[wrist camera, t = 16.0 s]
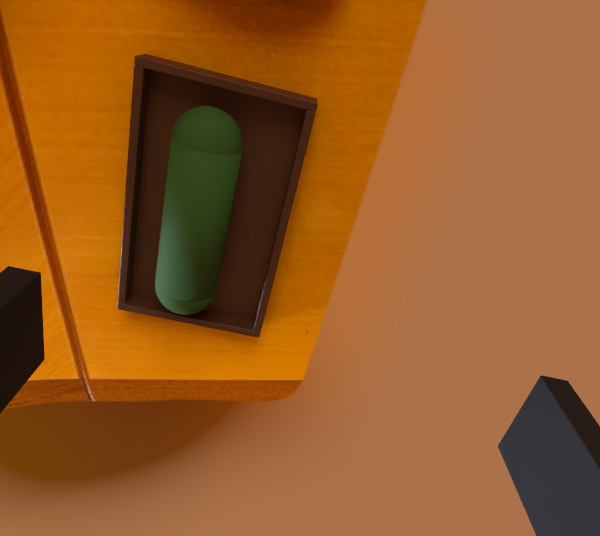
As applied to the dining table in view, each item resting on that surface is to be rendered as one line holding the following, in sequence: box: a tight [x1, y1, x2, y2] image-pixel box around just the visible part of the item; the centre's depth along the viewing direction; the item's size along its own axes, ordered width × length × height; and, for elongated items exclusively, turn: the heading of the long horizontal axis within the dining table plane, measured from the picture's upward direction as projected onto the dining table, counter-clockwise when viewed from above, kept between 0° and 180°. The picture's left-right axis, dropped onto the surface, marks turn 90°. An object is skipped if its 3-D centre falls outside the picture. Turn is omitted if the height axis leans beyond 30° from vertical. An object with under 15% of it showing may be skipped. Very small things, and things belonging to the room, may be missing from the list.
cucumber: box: [155, 106, 243, 315], centre depth 33 cm, size 16×5×5 cm, turn 166°
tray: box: [117, 54, 317, 337], centre depth 34 cm, size 19×12×2 cm, turn 166°
